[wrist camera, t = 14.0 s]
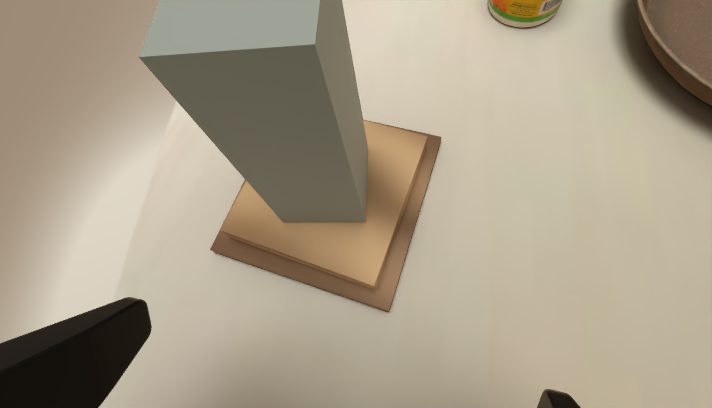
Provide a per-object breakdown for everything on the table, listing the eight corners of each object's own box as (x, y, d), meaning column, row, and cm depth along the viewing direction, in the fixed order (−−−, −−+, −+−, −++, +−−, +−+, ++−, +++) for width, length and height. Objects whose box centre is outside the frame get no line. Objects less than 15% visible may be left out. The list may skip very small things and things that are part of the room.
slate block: (365, 221, 21) (315, 44, 9) (282, 222, 22) (139, 57, 10) (368, 148, 23) (328, -75, 11) (292, 150, 24) (180, -58, 12)
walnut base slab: (389, 313, 22) (388, 311, 21) (220, 255, 25) (210, 249, 24) (439, 148, 26) (441, 137, 25) (289, 114, 29) (283, 102, 27)
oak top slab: (375, 290, 21) (374, 286, 20) (230, 237, 24) (220, 230, 22) (426, 148, 24) (427, 136, 23) (294, 114, 27) (288, 101, 26)
